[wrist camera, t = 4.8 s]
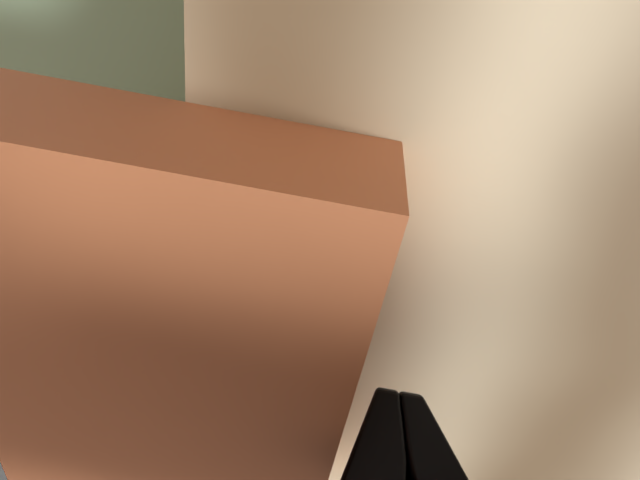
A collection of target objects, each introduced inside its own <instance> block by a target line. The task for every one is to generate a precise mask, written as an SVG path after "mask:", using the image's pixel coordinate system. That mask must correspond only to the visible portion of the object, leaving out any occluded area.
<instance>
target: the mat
mask: <svg viewBox="0 0 640 480" xmlns="http://www.w3.org/2000/svg"><path fill="white" fill-rule="evenodd" d="M0 68H6V69H11V70H16V71H22V72H27V73H33V74H38V75H44V76H49V77H54V78H60V79H65V80H71V81H76V82H81V83H87V84H92V85H98V86H103V87H109V88H114V89H119V90H125V91H130V92H136V93H141V94H146V95H152V96H157V97H163V98H168V99H174V100H179V101H184V102H185V48H184V0H0Z"/></svg>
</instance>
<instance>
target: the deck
mask: <svg viewBox="0 0 640 480" xmlns="http://www.w3.org/2000/svg"><path fill="white" fill-rule="evenodd" d="M184 48H185V102H189V103H195V104H200V105H206V106H211V107H216V108H222V109H227V110H233V111H238V112H244V113H249V114H255V115H260V116H265V117H271V118H276V119H282V120H287V121H293V122H298V123H304V124H309V125H314V126H320V127H325V128H331V129H336V130H341V131H347V132H352V133H358V134H363V135H369V136H374V137H379V138H385V139H390V140H396V141H401V142H402V145H403V155H404V166H405V176H406V186H407V197H408V207H409V219H408V223H407V226H406V229H405V232H404V236H403V239H402V242H401V245H400V249H399V252H398V255H397V258H396V262H395V265H394V268H393V271H392V275H391V278H390V281H389V284H388V288H387V291H386V294H385V297H384V301H383V304H382V307H381V310H380V314H379V317H378V320H377V323H376V327H375V330H374V333H373V336H372V340H371V343H370V346H369V349H368V353H367V356H366V359H365V362H364V366H363V369H362V372H361V375H360V379H359V382H358V385H357V388H356V392H355V395H354V398H353V401H352V405H351V408H350V411H349V414H348V418H347V421H346V424H345V427H344V431H343V434H342V437H341V440H340V444H339V447H338V450H337V453H336V457H335V460H334V463H333V466H332V470H331V473H330V476H329V479H328V480H340V479H341V477H342V474H343V472H344V469H345V466H346V464H347V461H348V459H349V456H350V453H351V451H352V448H353V446H354V443H355V441H356V438H357V435H358V433H359V430H360V428H361V425H362V423H363V420H364V417H365V415H366V412H367V410H368V407H369V405H370V402H371V399H372V397H373V394H374V392H375V390H376V388H378V387H381V388H387V389H393V390H396V391H398V393H399V392H401V391H404V392H410V393H416V394H420V395H421V396H423V398H424V399H425V401H426V403H427V404H428V406H429V408H430V410H431V412H432V414H433V415H434V417H435V419H436V421H437V423H438V424H439V426H440V428H441V430H442V432H443V434H444V435H445V437H446V439H447V441H448V443H449V445H450V446H451V448H452V450H453V452H454V454H455V455H456V457H457V459H458V461H459V463H460V465H461V466H462V468H463V470H464V472H465V474H466V476H467V477H468V479H469V480H640V0H184Z"/></svg>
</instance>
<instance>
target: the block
mask: <svg viewBox="0 0 640 480" xmlns="http://www.w3.org/2000/svg"><path fill="white" fill-rule="evenodd" d="M408 219H409V207H408V197H407V186H406V176H405V166H404V155H403V145H402V142H401V141H396V140H390V139H385V138H379V137H374V136H369V135H363V134H358V133H352V132H347V131H341V130H336V129H331V128H325V127H320V126H314V125H309V124H304V123H298V122H293V121H287V120H282V119H276V118H271V117H265V116H260V115H255V114H249V113H244V112H238V111H233V110H227V109H222V108H216V107H211V106H206V105H200V104H195V103H189V102H184V101H179V100H174V99H168V98H163V97H157V96H152V95H146V94H141V93H136V92H130V91H125V90H119V89H114V88H109V87H103V86H98V85H92V84H87V83H81V82H76V81H71V80H65V79H60V78H54V77H49V76H44V75H38V74H33V73H27V72H22V71H16V70H11V69H6V68H0V462H1V465H2V467H3V470H4V472H5V475H6V477H7V480H328V479H329V476H330V473H331V470H332V466H333V463H334V460H335V457H336V453H337V450H338V447H339V444H340V440H341V437H342V434H343V431H344V427H345V424H346V421H347V418H348V414H349V411H350V408H351V405H352V401H353V398H354V395H355V392H356V388H357V385H358V382H359V379H360V375H361V372H362V369H363V366H364V362H365V359H366V356H367V353H368V349H369V346H370V343H371V340H372V336H373V333H374V330H375V327H376V323H377V320H378V317H379V314H380V310H381V307H382V304H383V301H384V297H385V294H386V291H387V288H388V284H389V281H390V278H391V275H392V271H393V268H394V265H395V262H396V258H397V255H398V252H399V249H400V245H401V242H402V239H403V236H404V232H405V229H406V226H407V223H408Z"/></svg>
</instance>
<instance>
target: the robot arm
mask: <svg viewBox="0 0 640 480" xmlns="http://www.w3.org/2000/svg"><path fill="white" fill-rule="evenodd" d="M340 480H469V479H468V477H467V476H466V474H465V472H464V470H463V468H462V466H461V465H460V463H459V461H458V459H457V457H456V455H455V454H454V452H453V450H452V448H451V446H450V445H449V443H448V441H447V439H446V437H445V435H444V434H443V432H442V430H441V428H440V426H439V424H438V423H437V421H436V419H435V417H434V415H433V414H432V412H431V410H430V408H429V406H428V404H427V403H426V401H425V399H424V398H423V396H421V395H420V394H416V393H410V392H404V391H401V392H399V393H398V391H396V390H393V389H387V388H381V387H378V388H376V390H375V392H374V394H373V397H372V399H371V402H370V405H369V407H368V410H367V412H366V415H365V417H364V420H363V423H362V425H361V428H360V430H359V433H358V435H357V438H356V441H355V443H354V446H353V448H352V451H351V453H350V456H349V459H348V461H347V464H346V466H345V469H344V472H343V474H342V477H341V479H340Z"/></svg>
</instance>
